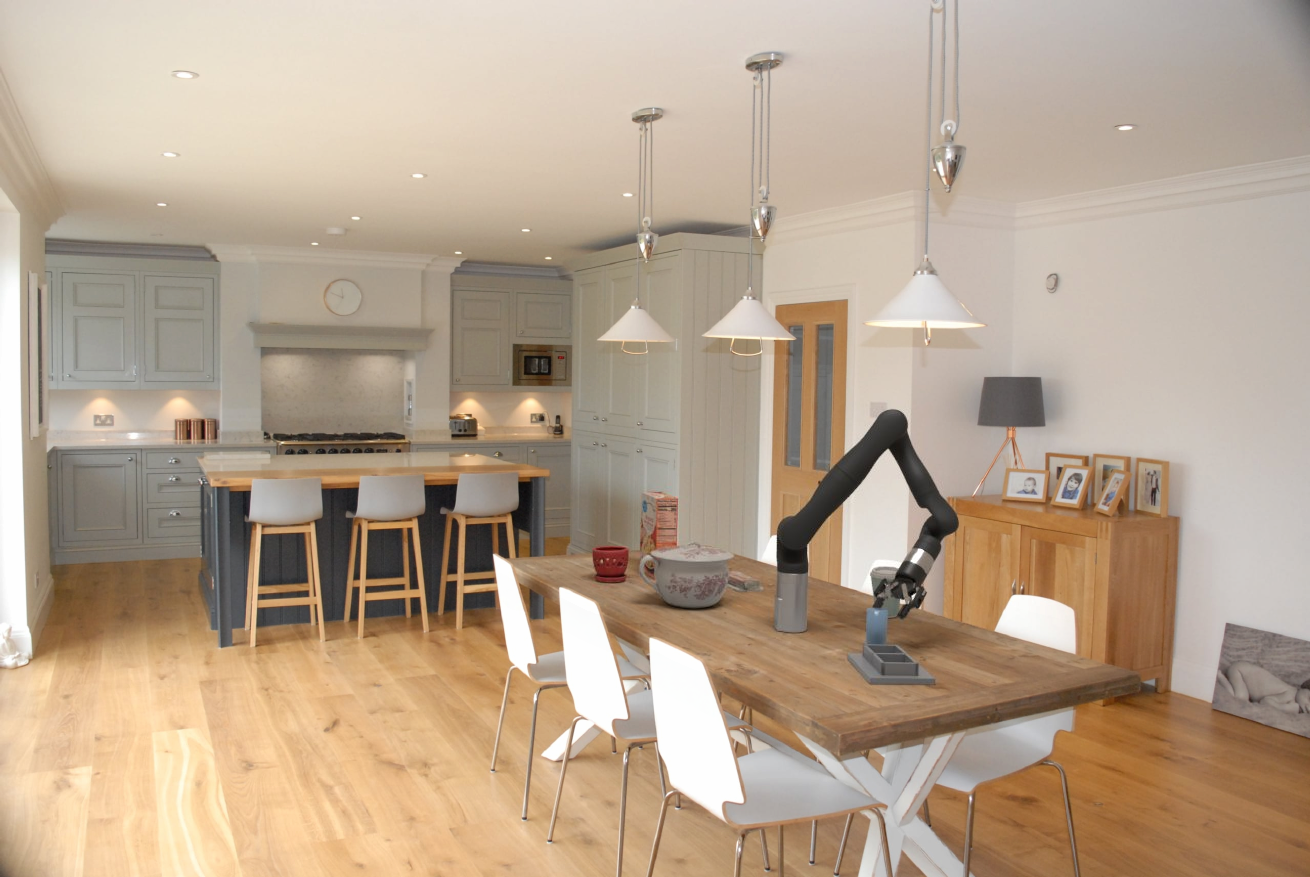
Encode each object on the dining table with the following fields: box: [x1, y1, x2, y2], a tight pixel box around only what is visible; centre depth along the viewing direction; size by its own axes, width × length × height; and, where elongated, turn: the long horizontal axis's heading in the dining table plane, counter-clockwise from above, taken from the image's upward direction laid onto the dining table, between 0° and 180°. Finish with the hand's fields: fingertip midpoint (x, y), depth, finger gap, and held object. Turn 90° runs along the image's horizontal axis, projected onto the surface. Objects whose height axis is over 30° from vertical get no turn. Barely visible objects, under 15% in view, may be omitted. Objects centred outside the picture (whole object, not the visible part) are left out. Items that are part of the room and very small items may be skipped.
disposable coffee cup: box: [869, 566, 901, 619], centre depth 306 cm, size 11×11×15 cm
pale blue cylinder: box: [864, 607, 889, 645], centre depth 260 cm, size 6×6×12 cm
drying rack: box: [846, 644, 936, 686], centre depth 244 cm, size 16×22×4 cm
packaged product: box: [727, 570, 765, 593], centre depth 346 cm, size 18×5×10 cm
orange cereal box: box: [639, 491, 679, 581], centre depth 366 cm, size 23×8×30 cm, turn 15°
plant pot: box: [592, 545, 630, 583], centre depth 351 cm, size 13×13×12 cm
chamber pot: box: [637, 540, 735, 610], centre depth 315 cm, size 28×28×21 cm
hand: (887, 614), depth 263 cm, fingers open, 8 cm apart
